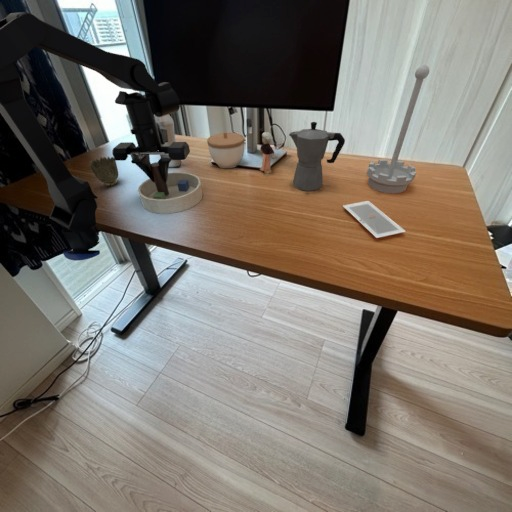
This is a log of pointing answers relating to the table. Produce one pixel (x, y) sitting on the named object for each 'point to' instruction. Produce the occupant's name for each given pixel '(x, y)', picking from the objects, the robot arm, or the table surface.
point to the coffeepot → (312, 155)
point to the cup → (105, 170)
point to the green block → (159, 195)
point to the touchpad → (373, 219)
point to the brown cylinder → (159, 179)
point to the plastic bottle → (168, 125)
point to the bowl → (171, 194)
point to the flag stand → (397, 152)
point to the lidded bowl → (226, 149)
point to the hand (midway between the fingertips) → (160, 181)
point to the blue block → (183, 185)
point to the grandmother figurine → (266, 152)
